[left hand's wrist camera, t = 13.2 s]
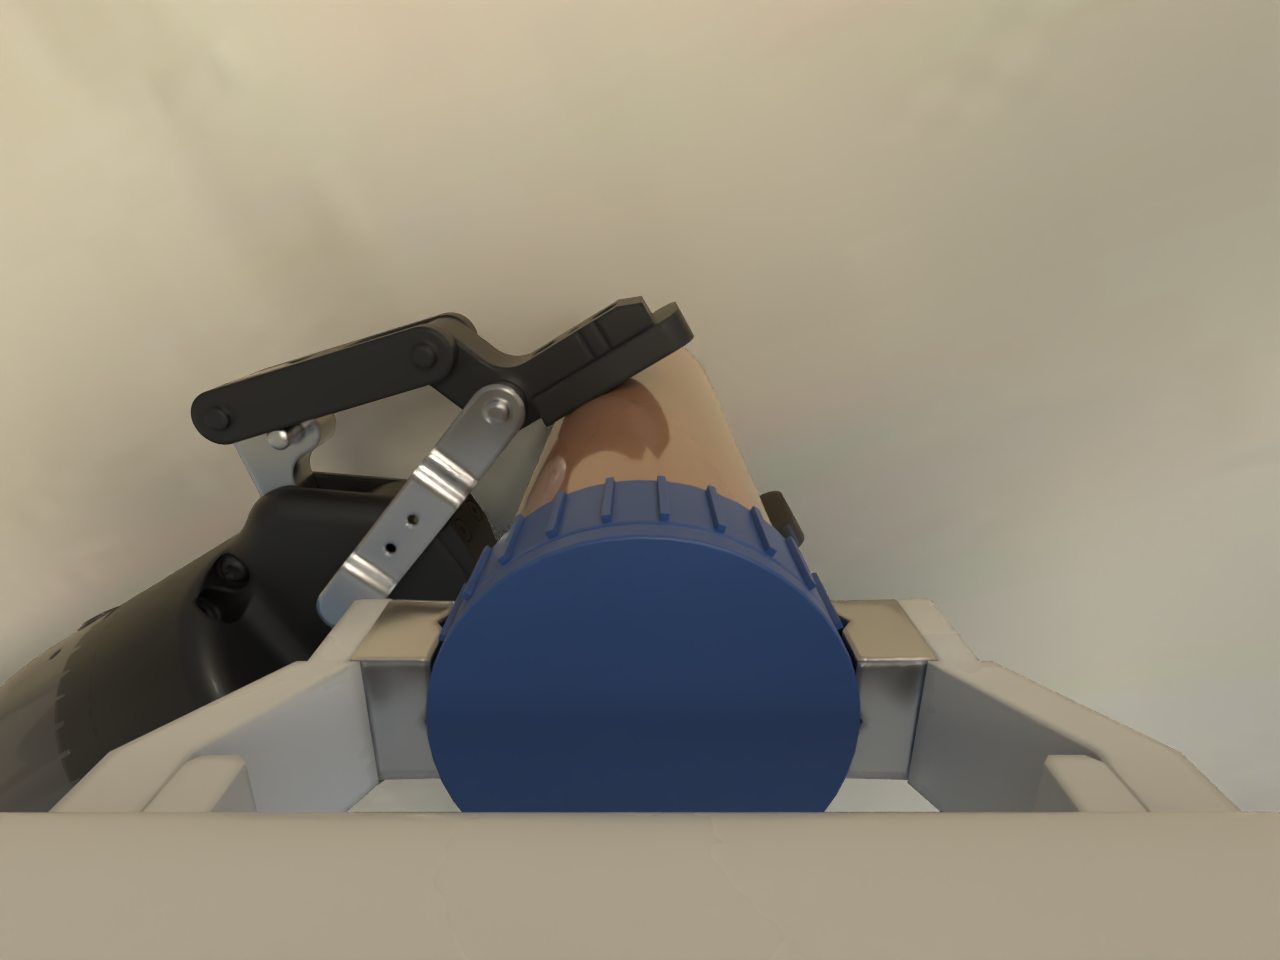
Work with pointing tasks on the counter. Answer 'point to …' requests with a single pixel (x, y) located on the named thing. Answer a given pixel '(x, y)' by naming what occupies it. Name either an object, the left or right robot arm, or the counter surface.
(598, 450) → the jar
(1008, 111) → the counter surface
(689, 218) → the counter surface
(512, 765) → the lid
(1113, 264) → the counter surface
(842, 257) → the counter surface
